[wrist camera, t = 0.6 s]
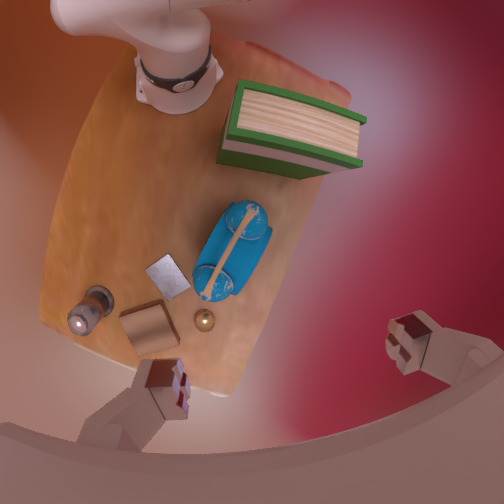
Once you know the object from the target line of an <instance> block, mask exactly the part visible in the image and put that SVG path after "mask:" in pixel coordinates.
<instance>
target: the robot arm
mask: <svg viewBox="0 0 504 504" xmlns="http://www.w3.org/2000/svg"><path fill="white" fill-rule="evenodd" d="M247 1H251V0H51V3H50V6H51V7H50V8H51V14H52V17H53V19H54V21H55V23H56V24H57V26H58V27H59V28H60V29H62V30H63V31H64V32H66V33H68V34H70V35H73V36H83V35H100V36H107V37H112V38H115V39H119V40H122V41H124V42H126V43H128V44H130V45H132V46H133V47H135V49H136V50H137V57H135V59H134V62H135V66H136V67H137V74H136V98H137V101H138V102H141V103H145V104H150V105H152V106H153V107H155V108H156V109H157V110H159V111H161V112H164V113H167V114H184V113H188V112H191V111H193V110H195V109H197V108H199V107H200V106H202V105H203V104H204V103H205V102H206V101H207V100H208V99H209V97H210V96H211V94H212V91H213V89H214V86H215V85H216V84H217V83H218V82H219V81H220V80H221V79H222V78H223V70H222V69H221V67H220V66H219V64H218V63H217V59H215V58H214V56H213V55H212V52H211V46H210V43H209V41H210V32H211V26H210V22H209V19H208V18H207V16H206V15H205V14H204V13H203V12H202V11H201V10H200V9H199V8H203V7H211V6H222V5H231V4H236V3H241V2H247ZM141 91H142V92H143V93H140V92H141ZM388 329H389V331H390V334H389V335H388V336H387V338H386V351H387V353H388V355H389V356H390V358H391V359H393V360H396V361H397V364H396V366H397V367H398V368H399V369H400V371H401V372H402V374H403V375H406V374H408V373H411V372H414V371H417V370H419V369H421V370H422V371H424V372H426V373H428V374H430V375H432V376H434V377H436V378H438V379H440V380H442V381H444V382H446V383H448V384H450V385H452V387H450V388H448V389H446V390H444V391H442V392H440V393H439V394H437V395H435V396H433V397H431V398H429V399H427V400H425V401H423V402H420V403H418V404H416V405H414V406H412V407H409V408H407V409H405V410H402V411H400V412H397V413H395V414H393V415H390V416H387V417H385V418H382V419H380V420H377V421H374V422H371V423H369V424H365V425H362V426H360V427H356V428H353V429H350V430H347V431H343V432H340V433H336V434H333V435H329V436H326V437H321V438H317V439H313V440H308V441H304V442H300V443H294V444H289V445H284V446H278V447H272V448H265V449H257V450H249V451H241V452H228V453H212V454H160V453H144V452H141V450H142V449H143V448H144V447H145V446H146V445H147V443H148V442H149V441H150V440H151V439H152V437H153V436H154V435H155V434H156V433H157V431H158V430H159V429H160V428H161V427H162V425H163V424H164V423H165V420H184V419H187V418H188V409H189V406H188V403H187V400H188V399H189V398H190V384H189V379H188V376H187V374H185V373H184V372H183V368H184V365H183V363H182V360H181V359H180V358H169V359H143V360H142V361H141V362H140V364H139V367H138V369H137V372H136V375H135V377H134V380H133V383H132V386H131V388H126V390H124V391H123V392H121V393H120V394H119V395H117V396H116V397H115V398H113V399H112V400H111V401H110V402H108V403H107V404H106V405H104V406H103V407H102V408H100V409H99V410H98V411H96V412H95V413H94V414H92V415H91V416H90V417H88V418H87V419H86V420H85V422H84V424H83V427H82V429H81V432H80V434H79V437H78V439H77V442H72V441H68V440H64V439H60V438H56V437H52V436H49V435H45V434H42V433H39V432H35V431H32V430H29V429H26V428H24V427H21V426H18V425H16V424H13V423H10V422H3V423H0V504H504V351H502V350H501V349H500V348H499V347H498V346H497V345H495V344H494V343H493V342H492V341H491V340H490V339H487V338H483V337H479V336H475V335H472V334H468V333H464V332H460V331H457V330H453V329H449V328H442V327H440V326H439V325H438V324H437V323H436V322H435V321H434V320H433V319H431V318H430V317H429V316H428V315H427V314H426V313H424V312H423V311H420V310H419V311H416V312H413V313H411V314H409V315H405V316H402V317H399V318H396V319H393V320H390V322H389V326H388Z"/></svg>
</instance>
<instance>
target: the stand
mask: <svg viewBox="0 0 504 504" xmlns="http://www.w3.org/2000/svg"><path fill="white" fill-rule="evenodd" d="M119 320H120V322H121V324H122V326H123V328H124V330H125V332H126V334H127V336H128V338H129V340H130V342H131V344H132V346H133V348H134V349H135V351H136V353H137V355H138V357H141V356H144V355H148V354H152V353H155V352H159V351H162V350H166V349H169V348H173V347H176V346H179V344H180V338H179V336H178V334H177V331H176V329H175V327H174V325H173V323H172V320H171V318H170V316H169V314H168V311H167V309H166V307H165V304H164V302H163V300H162V299H161V300H158V301H155V302H152V303H149V304H146V305H143V306H140V307H137V308H134V309H131V310H128V311H125V312H122V313H121V315H120V316H119Z"/></svg>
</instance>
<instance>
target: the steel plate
mask: <svg viewBox="0 0 504 504" xmlns="http://www.w3.org/2000/svg"><path fill="white" fill-rule="evenodd" d="M145 271H146V272H147V273H148V275H149V276H150V278H151V279H152V280H153V282H154V283H155V285H156V286H157V287H158V289H159V290H160V291H161V293H162V294H163V295H164V297H165V298H166V299H167V301H169V300H170V299H172V298H174V297H175V296H177V295H178V294H180V293H181V292H183V291H184V290H186V289H187V288H189V287H190V286H191V284H190V283H189V281H188V280H187V279H186V277H185V276H184V274H183V273H182V272H181V270H180V269H179V267H178V266H177V264H176V263H175V261H174V260H173V259H172V257H171V256H170V254H169V253H168V254H167V255H165V256H164V257H163V258H161V259H160V260H158V261H157V262H155V263H154V264H153V265H151V266H150V267H148V268H147V269H146V270H145Z"/></svg>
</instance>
